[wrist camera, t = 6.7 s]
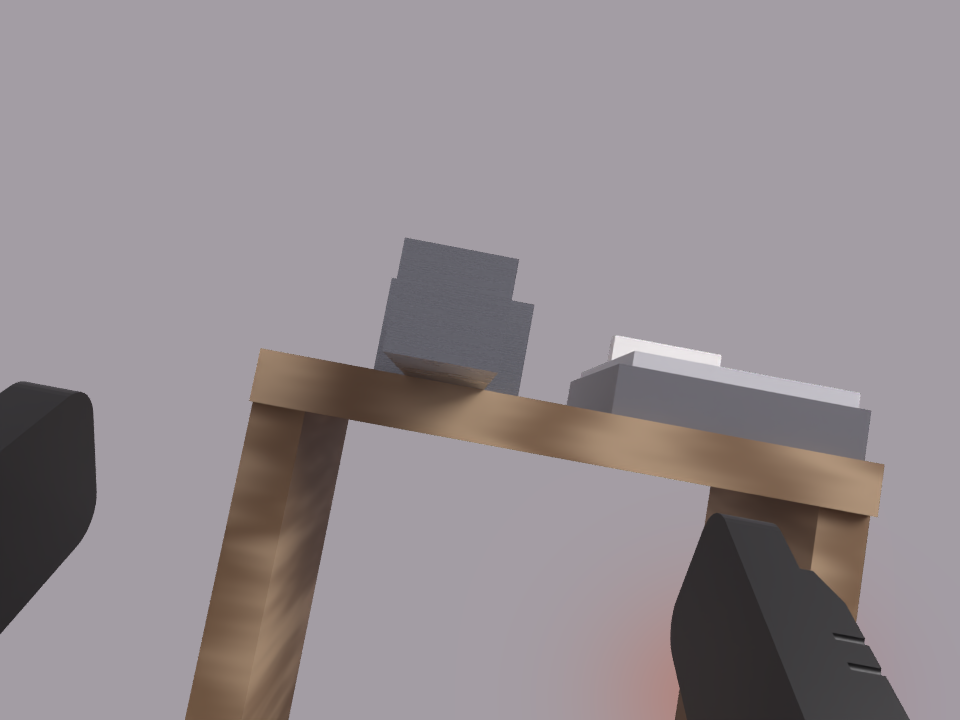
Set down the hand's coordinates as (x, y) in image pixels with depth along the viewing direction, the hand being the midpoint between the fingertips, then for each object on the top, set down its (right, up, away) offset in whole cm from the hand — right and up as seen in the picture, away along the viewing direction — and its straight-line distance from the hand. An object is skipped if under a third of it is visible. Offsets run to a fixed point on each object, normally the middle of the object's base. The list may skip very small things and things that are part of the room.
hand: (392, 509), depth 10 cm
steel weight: (0, +1, +19) cm, 19 cm away
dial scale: (+11, -2, +25) cm, 27 cm away
